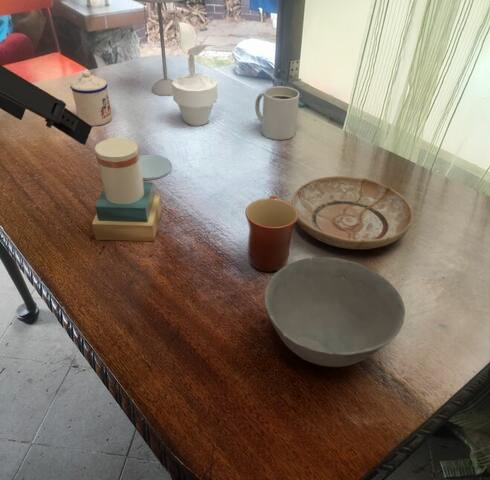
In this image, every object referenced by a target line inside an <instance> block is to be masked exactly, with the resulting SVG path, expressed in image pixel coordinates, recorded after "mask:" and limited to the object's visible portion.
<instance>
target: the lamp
mask: <svg viewBox="0 0 490 480" xmlns="http://www.w3.org/2000/svg"><path fill="white" fill-rule="evenodd" d="M133 1H135V2H138V3H139V2H140V3H143V5H145V3H147V4H156V5H157V6H156V8H157V18H158V19H157V20H158V29H159V30H158V31H159V39H160V41H159V42H160V50H161V62H162V73H163V78H160V79H158V80H157V81H155V82H154V83H153V85H152V86H151V88H150V91H151V93H152V94H154V95H157V96H161V97H164V96H165V97H169V96H173V90H172V83H173V80H174V79H171V78H168V68H167V57H166V46H165V45H166V44H165V36H164V35H165V34H164V23H163V12H162V4H170V3H172V8H173V11H175V4H174V3H178V2H182V1H184V0H133ZM143 10H144V11H143V12H144V13H146V8H145V6H143ZM146 16H147V15H144V21H147V17H146ZM174 20H175V14H173V21H174ZM147 26H148V25H147V23H145V29H146V30H148V27H147ZM177 36H178V34H177V30H174V34H173V37H174V38H177ZM145 37H147V38H149V34H148V32H146V34H145Z"/></svg>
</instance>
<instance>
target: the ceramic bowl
mask: <svg viewBox="0 0 490 480" xmlns="http://www.w3.org/2000/svg"><path fill="white" fill-rule="evenodd" d="M290 204H291V205H293V206H294V207H295V208H296V209H297V211H298V219H297V221H296V223H297V224H298V226H299V227H300V228H301V229H302V230H303V231H304V232H305V233H307V234H308V235H309V236H311V237H312V238H314V239H316V240H318V241H320V242H322V243H324V244H327V245H330V246H332V247H333V246H334V247H337V248H340V249H341V248H342V249H349V250H371V249H376V248H380V247H381V248H382V247H384V246H388V245H390V244H392V243H394V242H396V241H398V240H399V239H400V238H402V237H403V236H404V235H405V234H407V232H408V231H409V230H410V228H411V227H412V225H413V224H412V223H413V221H414V212H413V208H412V206H411V204H410V203H409V201H408V200H407V199H406V198H405V197H404V196H403V195H402V194H401V193H399V192H398V191H396V190H395V189H393V188H392V187H390V186H388V185H385V184H383V183H380V182H377V181H375V180H371V179H367V178H362V177H356V176H344V175H343V176H341V175H338V176H335V175H333V176H326V177H320V178H316V179H313V180H310V181H308V182H306V183H304V184H303V185H301V186H300V187H299V188H297V189H296V191H295V192H294V193H293V195H292V198H291V202H290Z"/></svg>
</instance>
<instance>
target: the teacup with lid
mask: <svg viewBox="0 0 490 480" xmlns="http://www.w3.org/2000/svg"><path fill="white" fill-rule="evenodd" d="M69 88H70V89H71V92H72V96H73V100H74V104H75V110H76V114H77V116H78V117H79V118H81V119H82V120H83V121H85V122H86V123H88V124H89V125H91V126H92V127H95V126H97V127H98V126H103V125H106V124H108V123H110V122H111V121H112V119H113V114H112V109H111V108H112V107H111V103H110V97H109V92H108V82H107V81H106V80H105V79H104V78H102V77H99V76H95V75H93V74H91V71H89V70H84V71H82V72H81V75H80V76H78V77H77V78H75V79H73V80H72V81H71V82H70V85H69Z"/></svg>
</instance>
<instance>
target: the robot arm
mask: <svg viewBox="0 0 490 480" xmlns="http://www.w3.org/2000/svg"><path fill="white" fill-rule="evenodd" d="M66 107H67V103H66V102H65V101H63V100H62V99H59V98H57V97H55V96H54V95H52V94H50V93H49V92H47V91H46V90H44V89H42V88H40V87H38V86H37V85H35V84H33V83H32V82H30V81H29V80H27V79H25V78H24V77H22V76H20V75H19V74H17V73H15V72H13V71H12V70H10V69H8V68H7V67H5V66H3V65H1V64H0V109H1V110H3V111H4V112H6V113H7V114H9V115H11V116H13V117H14V118H15V119H17V120H20V121H22V120H23V117H24V115H25V112H26V110H27V111H29V112H30V113H31V112H32V113H33V114H35V115H36V116H39V117H41V118H42V119H44V122H45V127H47V128H48V129H51V128H52V127H54V128H55V129H57V130H59V131H60V132H62V133H64V134H65V135H67V137H70V138H71V139H73V140H74V141H76V142H78V143H79V144H82V145H84V146H85V145H86V143H87V141H88V139H89V136H90V134H91V131H92V128H93V126H91V125H89V124H88V123H86V122H85V121H83V120H82V119H81V118H79V117H78V115H76V114H75V113H73V112H72V111H70V110H69V109H68V108H66Z"/></svg>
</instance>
